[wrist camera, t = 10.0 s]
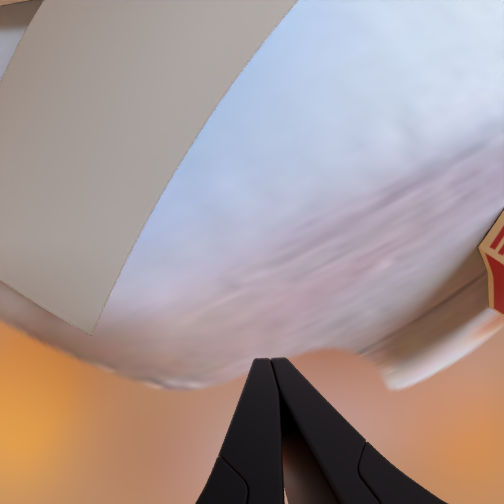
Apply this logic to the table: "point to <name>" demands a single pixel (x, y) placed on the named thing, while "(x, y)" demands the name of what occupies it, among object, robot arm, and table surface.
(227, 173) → the table surface
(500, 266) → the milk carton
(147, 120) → the cover
